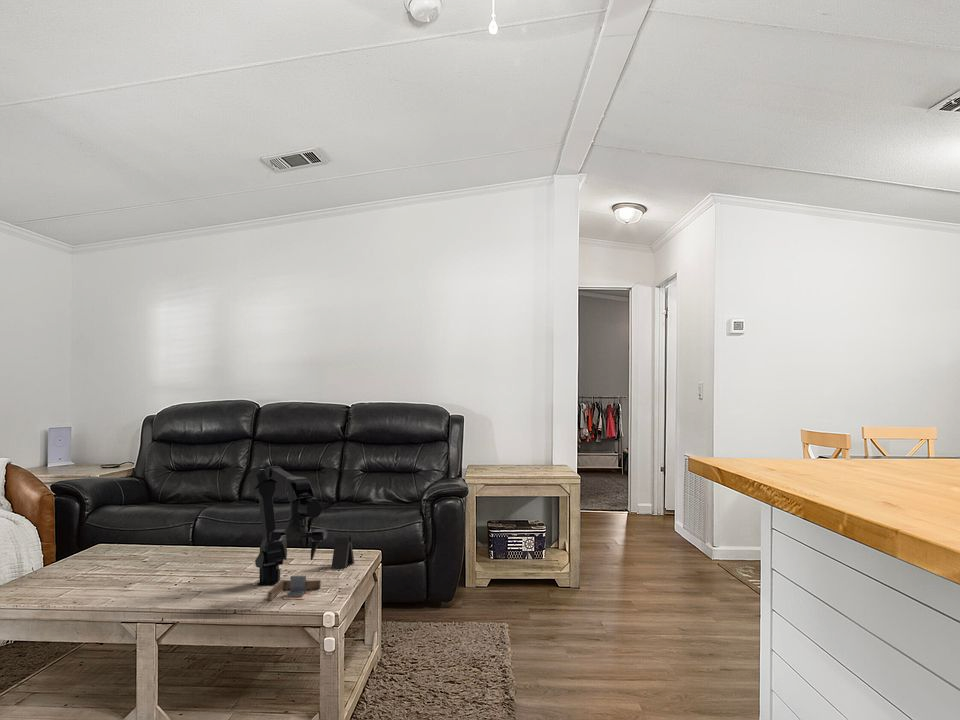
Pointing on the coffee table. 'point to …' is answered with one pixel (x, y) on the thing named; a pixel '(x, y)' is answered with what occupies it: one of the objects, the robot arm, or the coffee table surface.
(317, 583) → the l-shaped wooden corner frame
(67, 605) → the coffee table surface
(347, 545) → the phone stand
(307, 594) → the pad
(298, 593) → the angle bracket
